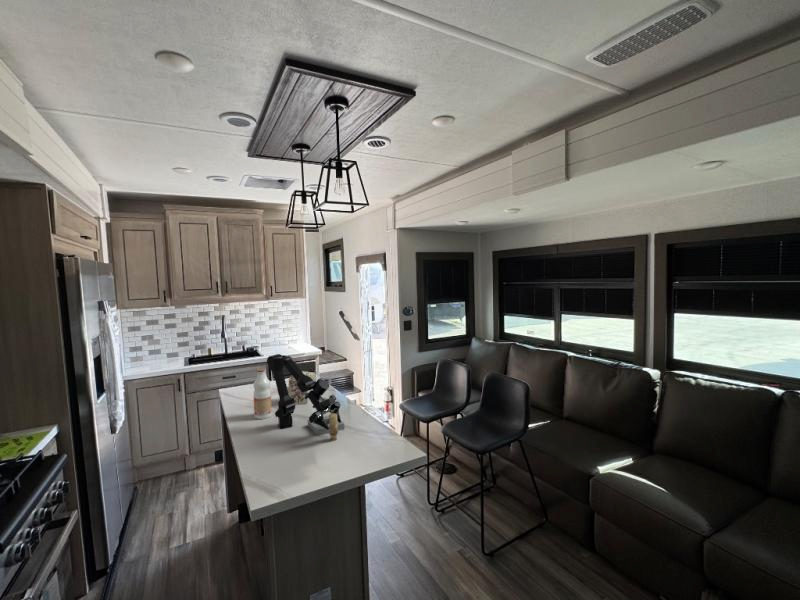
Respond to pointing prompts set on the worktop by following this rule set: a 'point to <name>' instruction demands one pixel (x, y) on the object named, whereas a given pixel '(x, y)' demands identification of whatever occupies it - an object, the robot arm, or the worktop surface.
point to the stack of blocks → (310, 375)
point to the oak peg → (333, 426)
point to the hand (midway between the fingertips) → (334, 425)
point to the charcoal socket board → (319, 429)
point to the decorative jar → (296, 392)
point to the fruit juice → (262, 395)
